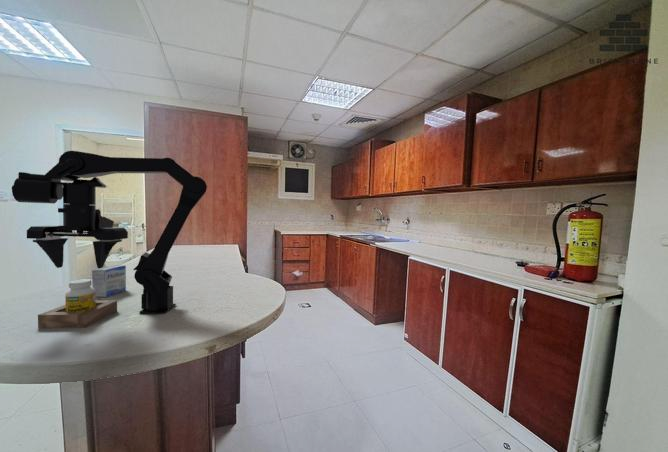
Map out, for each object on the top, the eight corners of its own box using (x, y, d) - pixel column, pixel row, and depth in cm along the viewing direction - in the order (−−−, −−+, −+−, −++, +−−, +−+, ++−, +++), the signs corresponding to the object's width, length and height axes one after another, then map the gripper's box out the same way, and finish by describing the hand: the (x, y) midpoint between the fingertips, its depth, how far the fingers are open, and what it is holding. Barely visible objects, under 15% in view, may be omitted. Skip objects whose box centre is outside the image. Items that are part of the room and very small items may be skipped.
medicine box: (105, 297, 81) (105, 270, 81) (91, 297, 81) (91, 269, 81) (126, 290, 89) (126, 265, 88) (113, 289, 89) (113, 264, 88)
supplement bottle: (97, 313, 69) (97, 277, 68) (93, 320, 64) (93, 282, 64) (69, 317, 66) (68, 279, 65) (62, 325, 61) (62, 285, 61)
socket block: (117, 311, 70) (117, 300, 70) (85, 327, 60) (85, 314, 60) (76, 311, 69) (76, 300, 69) (38, 327, 59) (37, 314, 59)
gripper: (141, 207, 73) (141, 262, 73) (68, 204, 71) (68, 261, 71) (111, 205, 62) (111, 271, 62) (23, 202, 60) (24, 269, 60)
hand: (80, 267), depth 64 cm, fingers open, 9 cm apart
